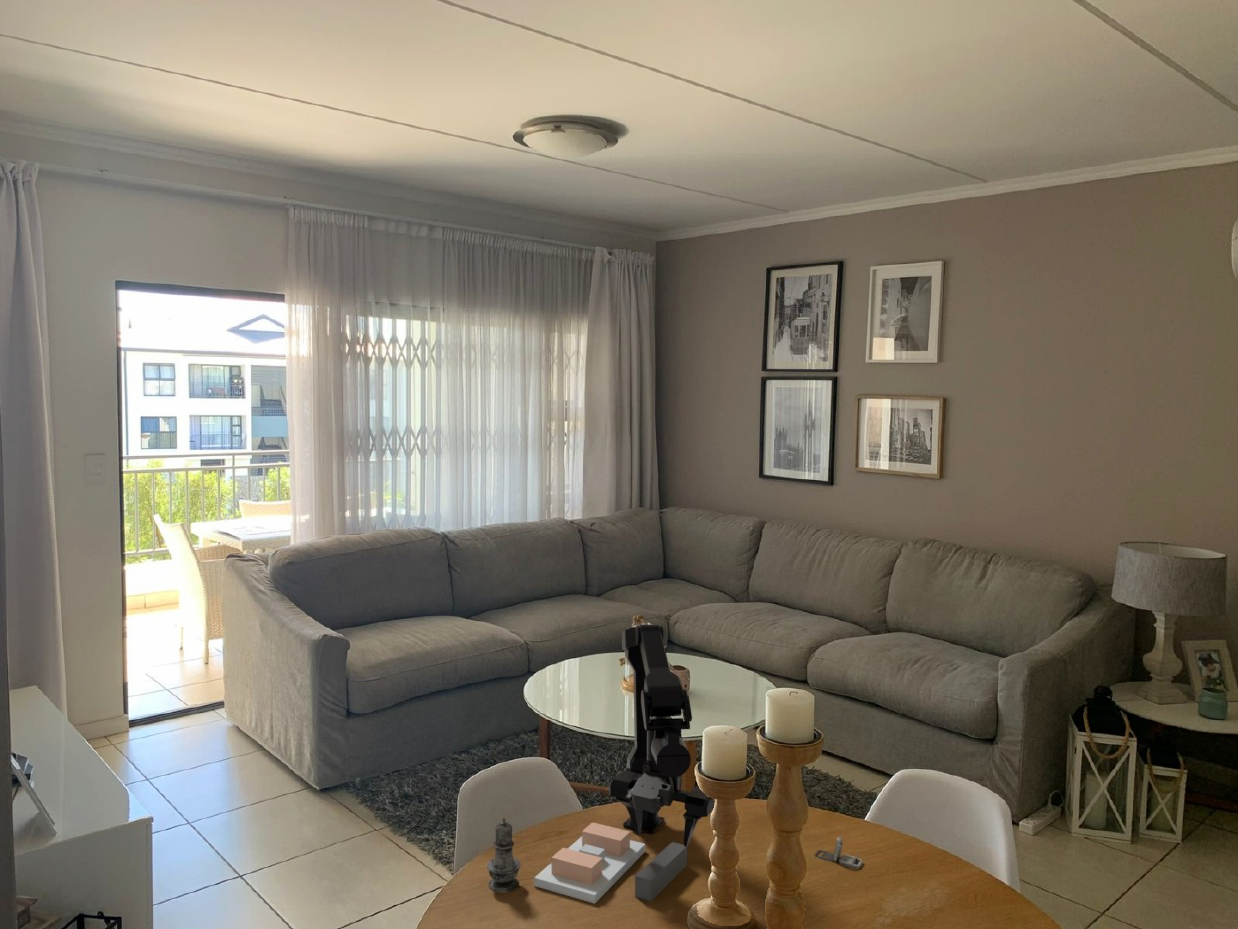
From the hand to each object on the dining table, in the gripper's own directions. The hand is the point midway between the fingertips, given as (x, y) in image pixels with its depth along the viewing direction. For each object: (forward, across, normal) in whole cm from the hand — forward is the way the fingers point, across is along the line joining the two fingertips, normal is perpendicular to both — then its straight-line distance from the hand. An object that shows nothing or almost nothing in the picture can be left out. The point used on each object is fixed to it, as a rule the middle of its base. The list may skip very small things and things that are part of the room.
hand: (662, 839), depth 160 cm
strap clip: (+8, +26, +22) cm, 35 cm away
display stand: (+7, -13, -2) cm, 15 cm away
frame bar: (+8, 0, 0) cm, 8 cm away
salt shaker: (+8, -24, -14) cm, 29 cm away
